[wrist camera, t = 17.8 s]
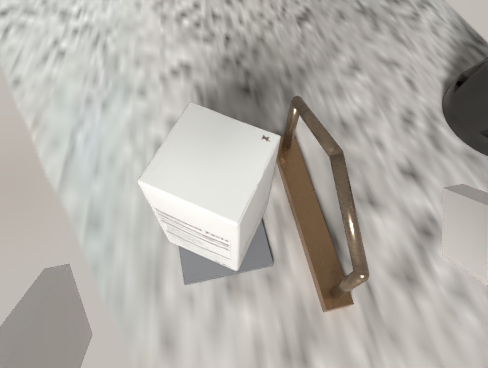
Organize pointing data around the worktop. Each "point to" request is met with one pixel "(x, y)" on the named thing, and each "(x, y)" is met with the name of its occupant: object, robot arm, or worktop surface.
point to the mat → (206, 269)
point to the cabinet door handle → (310, 216)
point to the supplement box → (211, 183)
